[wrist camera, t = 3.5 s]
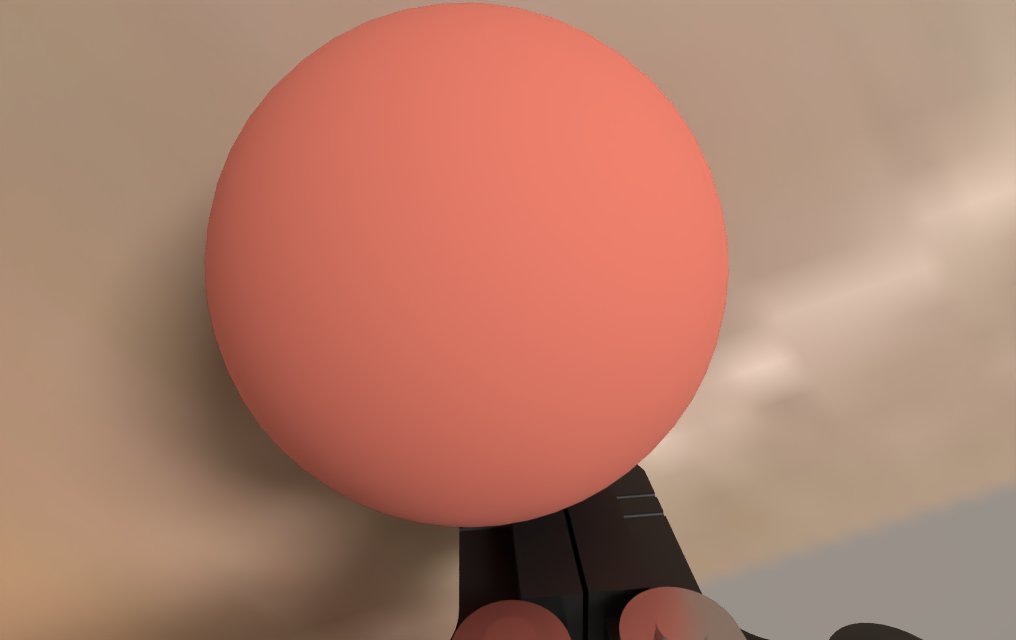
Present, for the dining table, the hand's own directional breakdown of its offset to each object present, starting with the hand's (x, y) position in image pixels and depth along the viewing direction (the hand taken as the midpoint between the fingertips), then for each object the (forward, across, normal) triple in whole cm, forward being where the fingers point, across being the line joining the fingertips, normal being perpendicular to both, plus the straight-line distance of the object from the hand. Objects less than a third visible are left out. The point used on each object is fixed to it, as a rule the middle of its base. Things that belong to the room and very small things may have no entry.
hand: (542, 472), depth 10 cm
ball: (-1, +1, -4) cm, 4 cm away
